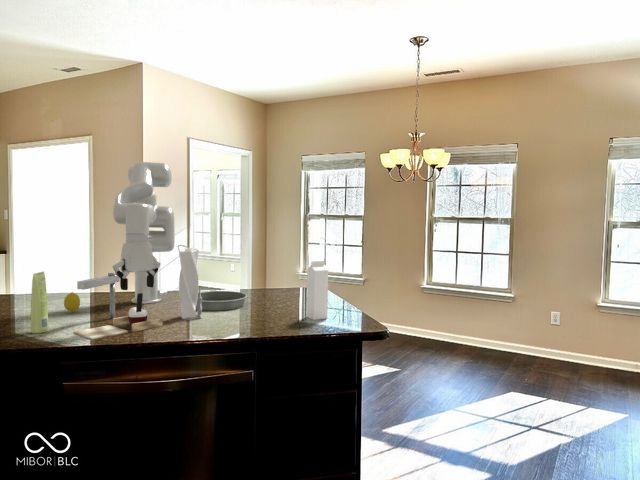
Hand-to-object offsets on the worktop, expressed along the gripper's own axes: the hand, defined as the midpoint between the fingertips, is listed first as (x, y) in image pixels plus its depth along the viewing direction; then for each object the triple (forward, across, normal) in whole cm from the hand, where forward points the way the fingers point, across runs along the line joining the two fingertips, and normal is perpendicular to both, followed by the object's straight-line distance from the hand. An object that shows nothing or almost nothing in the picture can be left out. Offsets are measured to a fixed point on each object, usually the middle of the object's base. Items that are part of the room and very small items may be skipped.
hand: (137, 288), depth 159 cm
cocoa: (+13, 0, -1) cm, 13 cm away
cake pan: (+13, -44, -9) cm, 46 cm away
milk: (+13, -52, +38) cm, 66 cm away
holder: (+13, 0, -1) cm, 13 cm away
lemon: (+13, +4, -39) cm, 41 cm away
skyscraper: (+14, -20, +1) cm, 25 cm away
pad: (+13, +12, -1) cm, 18 cm away
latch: (+13, +6, -14) cm, 20 cm away
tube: (+13, +24, -17) cm, 33 cm away
